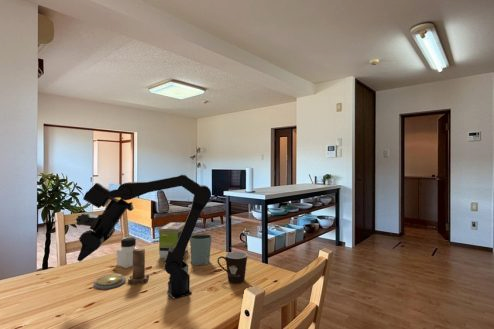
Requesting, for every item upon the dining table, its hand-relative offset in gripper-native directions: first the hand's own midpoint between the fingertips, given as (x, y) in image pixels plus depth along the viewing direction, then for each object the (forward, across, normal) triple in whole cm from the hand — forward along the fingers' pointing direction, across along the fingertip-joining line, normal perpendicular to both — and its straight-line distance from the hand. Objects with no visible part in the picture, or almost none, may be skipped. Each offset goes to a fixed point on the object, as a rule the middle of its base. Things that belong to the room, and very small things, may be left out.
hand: (83, 256), depth 92 cm
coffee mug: (-15, -7, +52) cm, 54 cm away
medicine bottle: (+9, -33, +14) cm, 37 cm away
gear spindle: (+4, -14, +21) cm, 25 cm away
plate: (+10, -14, +12) cm, 21 cm away
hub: (+10, -14, +12) cm, 21 cm away
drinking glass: (-9, -31, +42) cm, 53 cm away
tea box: (-2, -45, +31) cm, 55 cm away
